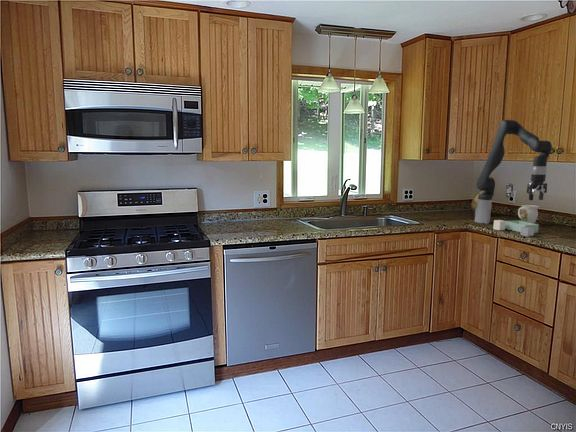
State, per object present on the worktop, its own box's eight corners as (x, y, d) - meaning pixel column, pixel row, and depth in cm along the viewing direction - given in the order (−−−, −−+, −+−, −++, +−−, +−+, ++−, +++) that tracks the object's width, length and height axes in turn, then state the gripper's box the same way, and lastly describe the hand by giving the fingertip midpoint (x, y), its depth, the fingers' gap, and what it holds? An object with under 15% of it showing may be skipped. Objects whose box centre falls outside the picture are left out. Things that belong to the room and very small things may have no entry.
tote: (504, 229, 272) (504, 221, 271) (517, 228, 276) (517, 220, 275) (524, 233, 258) (525, 225, 257) (537, 232, 262) (538, 224, 261)
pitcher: (523, 221, 308) (525, 203, 306) (543, 225, 291) (545, 206, 289) (511, 221, 306) (513, 203, 303) (530, 225, 288) (533, 206, 286)
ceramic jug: (481, 217, 324) (484, 179, 319) (466, 214, 338) (469, 178, 334) (496, 216, 331) (500, 179, 326) (481, 213, 345) (484, 178, 340)
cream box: (493, 229, 273) (494, 220, 272) (498, 228, 274) (499, 220, 273) (499, 230, 268) (500, 221, 267) (505, 230, 270) (505, 221, 269)
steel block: (520, 235, 254) (521, 227, 254) (526, 234, 256) (527, 226, 255) (527, 236, 250) (528, 228, 249) (533, 236, 251) (534, 228, 251)
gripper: (541, 173, 254) (538, 199, 256) (524, 173, 249) (521, 199, 251) (552, 174, 247) (549, 200, 249) (536, 174, 242) (533, 201, 244)
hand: (535, 200), depth 250 cm, fingers open, 8 cm apart
